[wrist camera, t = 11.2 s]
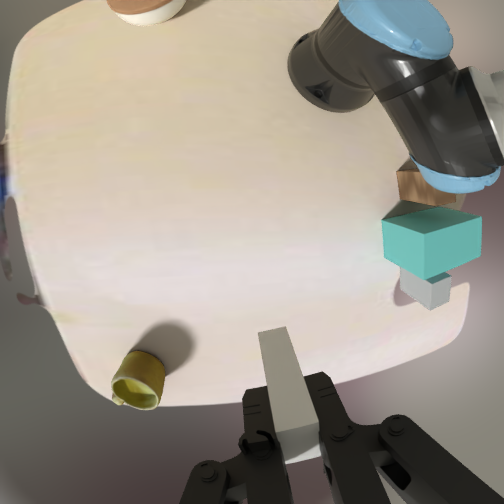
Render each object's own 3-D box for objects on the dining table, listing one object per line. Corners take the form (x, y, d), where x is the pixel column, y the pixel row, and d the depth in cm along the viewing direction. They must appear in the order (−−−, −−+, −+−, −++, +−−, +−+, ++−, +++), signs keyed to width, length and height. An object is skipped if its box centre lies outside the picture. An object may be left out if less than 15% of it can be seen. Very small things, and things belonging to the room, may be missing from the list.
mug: (145, 338, 43) (134, 388, 35) (178, 366, 48) (174, 412, 40) (102, 349, 45) (89, 392, 37) (134, 374, 51) (127, 414, 43)
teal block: (381, 219, 43) (423, 234, 32) (438, 206, 44) (481, 216, 32) (384, 257, 45) (423, 280, 34) (439, 240, 46) (480, 255, 34)
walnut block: (396, 171, 41) (432, 172, 32) (416, 168, 41) (452, 170, 32) (399, 199, 43) (436, 206, 33) (419, 195, 43) (455, 201, 33)
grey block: (399, 265, 46) (432, 284, 36) (418, 259, 46) (451, 275, 37) (399, 289, 47) (429, 310, 38) (418, 282, 48) (449, 301, 38)
